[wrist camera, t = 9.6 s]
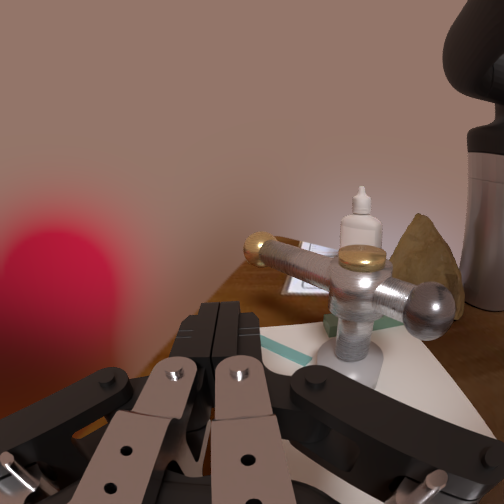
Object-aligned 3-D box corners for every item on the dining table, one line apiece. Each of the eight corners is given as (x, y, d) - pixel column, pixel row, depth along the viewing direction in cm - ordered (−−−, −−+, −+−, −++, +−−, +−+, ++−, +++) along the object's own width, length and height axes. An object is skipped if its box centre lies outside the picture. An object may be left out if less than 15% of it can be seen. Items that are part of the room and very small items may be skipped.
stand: (390, 334, 23) (399, 286, 21) (490, 487, 6) (538, 439, 4) (238, 353, 23) (233, 303, 21) (236, 567, 6) (219, 559, 4)
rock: (488, 296, 21) (439, 255, 30) (481, 242, 18) (421, 206, 27) (418, 361, 24) (380, 308, 33) (397, 322, 20) (351, 266, 29)
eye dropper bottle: (356, 286, 33) (360, 189, 29) (335, 271, 38) (336, 185, 35) (382, 280, 34) (388, 188, 30) (360, 266, 39) (362, 184, 35)
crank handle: (439, 373, 11) (470, 269, 9) (413, 409, 10) (452, 295, 8) (270, 290, 23) (267, 219, 21) (237, 302, 22) (230, 226, 20)
